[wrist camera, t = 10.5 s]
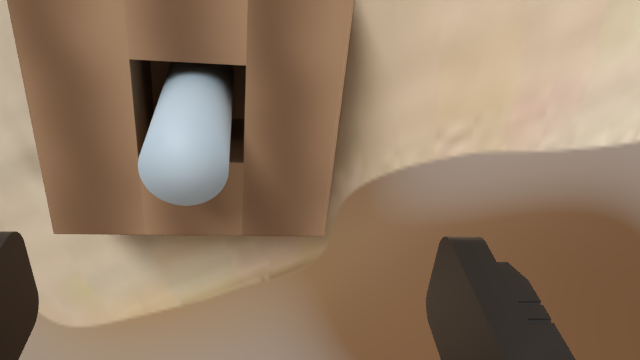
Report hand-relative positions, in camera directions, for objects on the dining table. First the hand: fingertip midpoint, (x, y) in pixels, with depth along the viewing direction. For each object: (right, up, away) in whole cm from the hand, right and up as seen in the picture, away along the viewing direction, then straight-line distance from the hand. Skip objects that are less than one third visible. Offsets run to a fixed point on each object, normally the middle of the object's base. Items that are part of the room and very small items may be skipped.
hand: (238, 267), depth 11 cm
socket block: (-5, +8, +19) cm, 21 cm away
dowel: (-5, +7, +19) cm, 20 cm away
